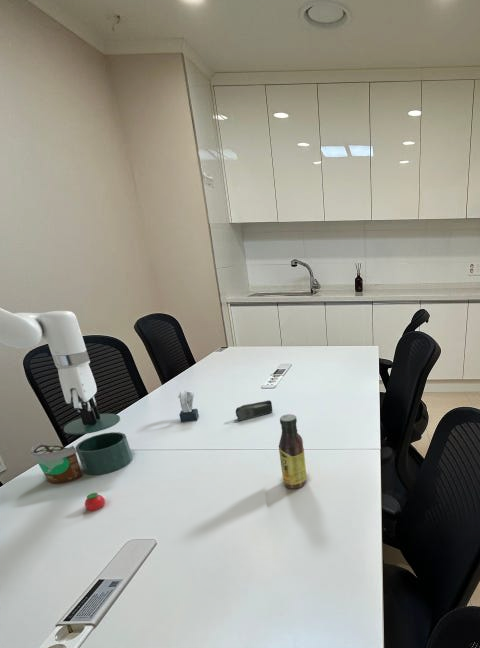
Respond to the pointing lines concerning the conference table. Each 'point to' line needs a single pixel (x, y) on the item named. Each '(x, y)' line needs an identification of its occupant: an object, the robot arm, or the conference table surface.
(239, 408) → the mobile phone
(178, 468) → the conference table surface
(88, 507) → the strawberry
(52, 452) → the food container
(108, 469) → the pot
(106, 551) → the conference table surface
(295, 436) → the sauce bottle
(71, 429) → the lid
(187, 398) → the stone sculpture
